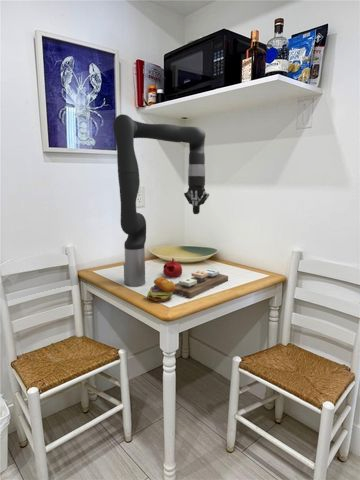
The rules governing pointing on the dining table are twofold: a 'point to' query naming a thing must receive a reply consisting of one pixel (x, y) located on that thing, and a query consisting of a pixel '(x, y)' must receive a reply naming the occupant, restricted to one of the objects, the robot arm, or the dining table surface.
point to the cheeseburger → (161, 290)
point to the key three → (212, 273)
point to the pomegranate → (172, 269)
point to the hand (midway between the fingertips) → (196, 213)
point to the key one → (187, 282)
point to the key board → (200, 286)
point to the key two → (200, 275)
